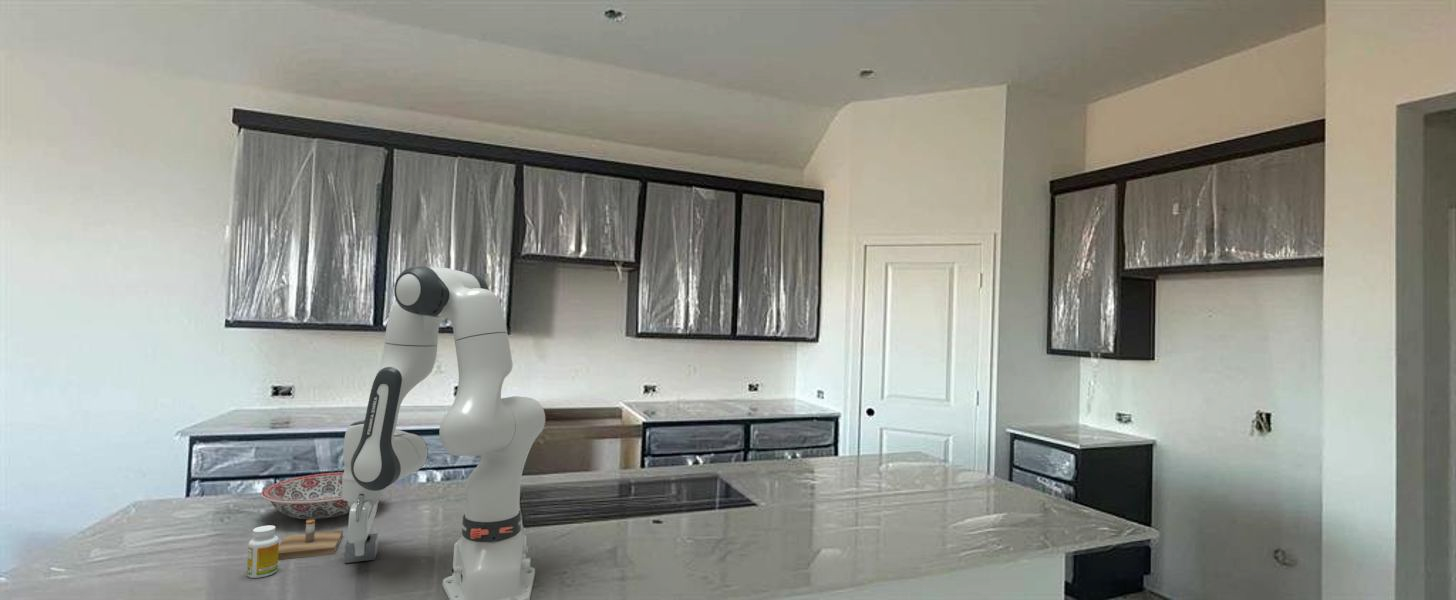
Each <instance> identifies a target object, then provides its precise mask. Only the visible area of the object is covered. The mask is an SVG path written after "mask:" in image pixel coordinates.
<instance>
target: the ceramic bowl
mask: <svg viewBox="0 0 1456 600" xmlns="http://www.w3.org/2000/svg"><path fill="white" fill-rule="evenodd" d="M343 473H344V471H343V472H342V471H339V472H338V471H337V472H324V473H315V474H309V475H303V476H298V477H294V478H293V477H292V478H289V479H285V480H282V481H281V480H280V481H279V482H275V483H274V484H270V485H268V486H267V487H265V488H264V489H262V491H261V492H260V496H261V498H262V499H263V500H266V501H268V502H270V503H271V505H272V506H273V507H274V508H275V509H276V510H277V511H278V512H281V513H282V514H283V515H286V516H288V517H290V518H294V519H301V520H310V519H315V520H323V519H330V518H335V517H339V516H343V515H347V514H349V513H350V508H351V507H349V506H348V501H344V500H342V476H343Z"/></svg>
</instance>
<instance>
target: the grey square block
mask: <svg viewBox="0 0 1456 600" xmlns="http://www.w3.org/2000/svg"><path fill="white" fill-rule="evenodd" d="M378 550H379V533H369V534H368V537H367V540H366V541H365V552H364V555H362V556H355V546H354V543H349V542H348V539H347V541H346V542H345V545H344V563H345V564H349V563H357V562H358V563H359V562H365V561H366V562H367V561H375V560H376V557H377V554H378Z"/></svg>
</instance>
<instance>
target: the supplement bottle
mask: <svg viewBox="0 0 1456 600" xmlns="http://www.w3.org/2000/svg"><path fill="white" fill-rule="evenodd" d="M276 532H277V531H276V526H275V525H270V524H269V525H261V526H258V527H257V526H256V527H255V528H253V530H252V539H251V540H249V541H248V545H247V566H246V572H247V573H246V575H247V577H248V578H251V579H258V578H265V577H268V576H272V575H274V574H275V573H276V572H277V571H278V568H279V560H278V551H279V545H280V539H279V537H278V536H277V535H276Z"/></svg>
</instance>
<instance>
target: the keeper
mask: <svg viewBox="0 0 1456 600" xmlns="http://www.w3.org/2000/svg"><path fill="white" fill-rule="evenodd" d="M315 531H316V519H306V521H305V533H301V534H291V535H285V537H284V538H283V539H282V540H281V542H279V551H278V561H279V560H280V561H281V560H289V559H299V558H309V557H319V556H328V555H329V556H330V555H335V553H336V551H337V549H338V547H339V545H340V543H341V540H342V539H343V537H344V536H343V535H344V531H343V530H334V531H332V530H331V531H323V532H322V531H321V532H315Z"/></svg>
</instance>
